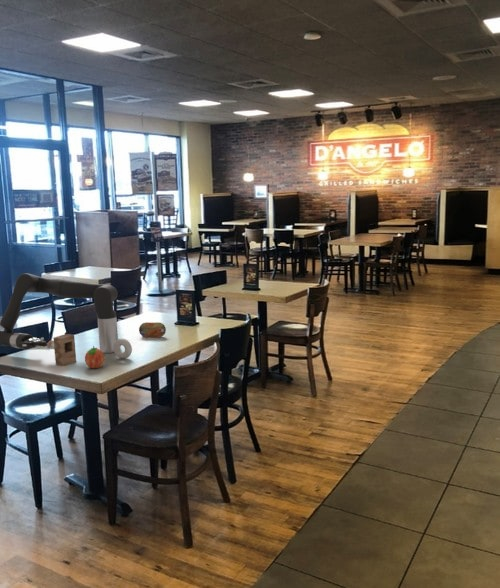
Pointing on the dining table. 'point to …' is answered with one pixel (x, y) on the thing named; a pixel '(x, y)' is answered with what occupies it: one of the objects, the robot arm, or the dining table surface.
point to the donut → (126, 345)
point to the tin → (152, 329)
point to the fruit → (94, 358)
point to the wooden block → (61, 354)
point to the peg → (51, 345)
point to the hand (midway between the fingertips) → (45, 344)
